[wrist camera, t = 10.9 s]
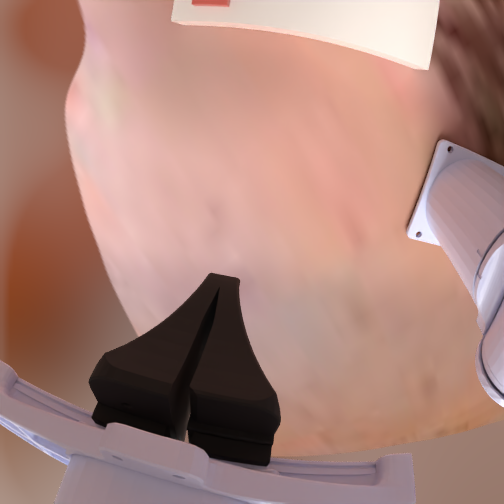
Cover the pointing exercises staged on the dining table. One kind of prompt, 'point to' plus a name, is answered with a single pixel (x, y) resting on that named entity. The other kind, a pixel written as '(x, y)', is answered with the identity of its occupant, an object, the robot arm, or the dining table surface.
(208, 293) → the robot arm
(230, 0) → the socket plate
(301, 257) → the dining table surface
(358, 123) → the dining table surface
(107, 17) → the dining table surface
